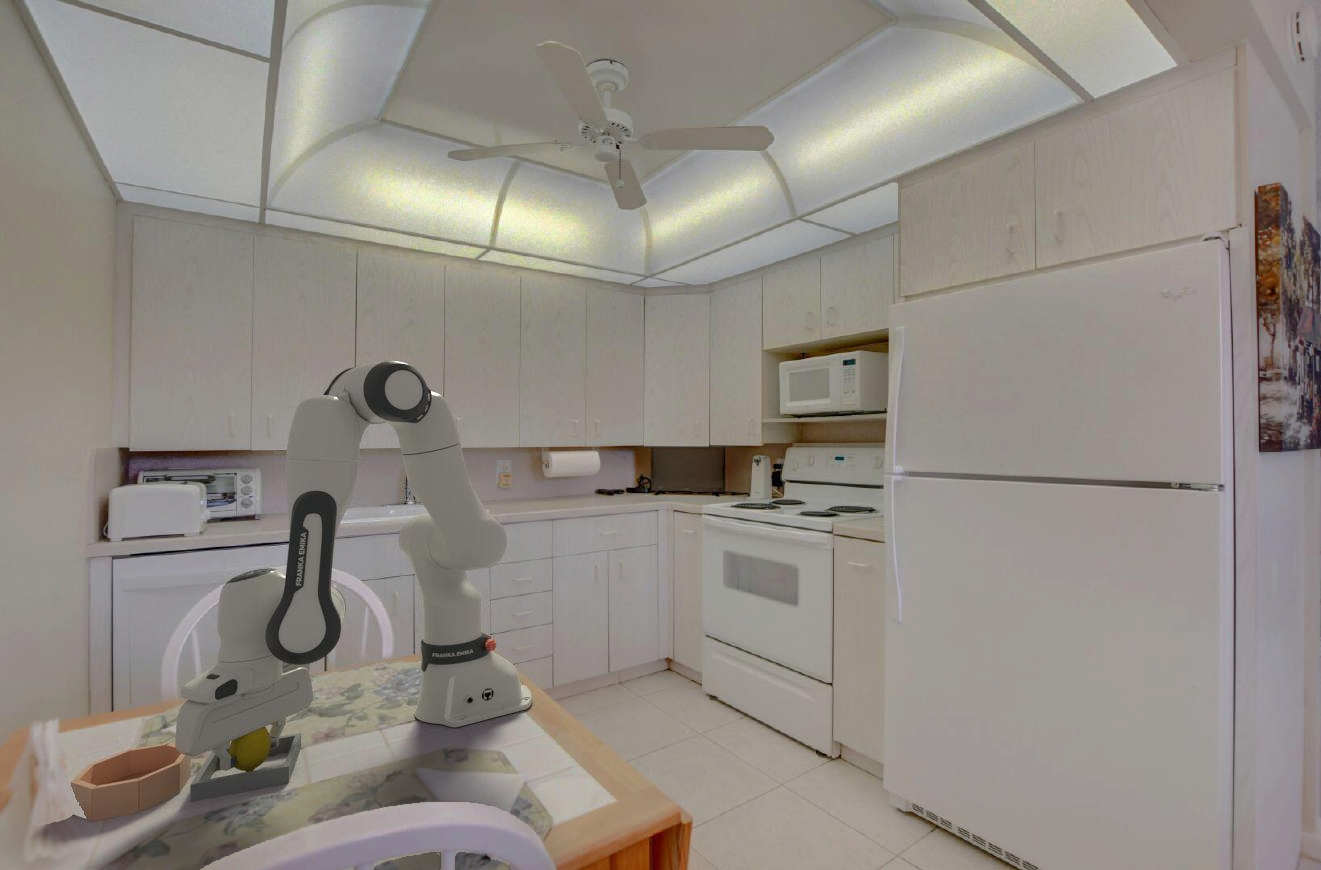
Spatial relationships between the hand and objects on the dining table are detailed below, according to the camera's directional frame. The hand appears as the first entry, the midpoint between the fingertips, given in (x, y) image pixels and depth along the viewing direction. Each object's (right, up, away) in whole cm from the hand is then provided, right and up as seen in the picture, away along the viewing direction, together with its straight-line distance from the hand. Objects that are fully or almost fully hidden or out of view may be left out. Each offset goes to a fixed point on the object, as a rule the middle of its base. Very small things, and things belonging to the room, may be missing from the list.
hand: (250, 757), depth 99 cm
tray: (0, -2, 0) cm, 2 cm away
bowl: (-14, -2, -6) cm, 15 cm away
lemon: (0, -3, 0) cm, 3 cm away
